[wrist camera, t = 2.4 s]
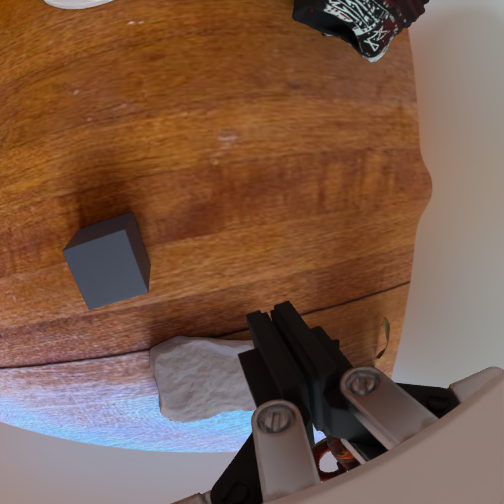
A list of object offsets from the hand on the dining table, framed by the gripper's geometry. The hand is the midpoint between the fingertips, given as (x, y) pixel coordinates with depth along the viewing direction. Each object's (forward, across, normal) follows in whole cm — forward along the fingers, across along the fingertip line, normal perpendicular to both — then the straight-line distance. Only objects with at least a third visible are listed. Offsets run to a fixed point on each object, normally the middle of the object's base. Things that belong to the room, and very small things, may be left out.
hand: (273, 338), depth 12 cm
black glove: (+16, -15, -18) cm, 28 cm away
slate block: (+16, +9, 0) cm, 18 cm away
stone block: (+17, +5, +14) cm, 23 cm away
